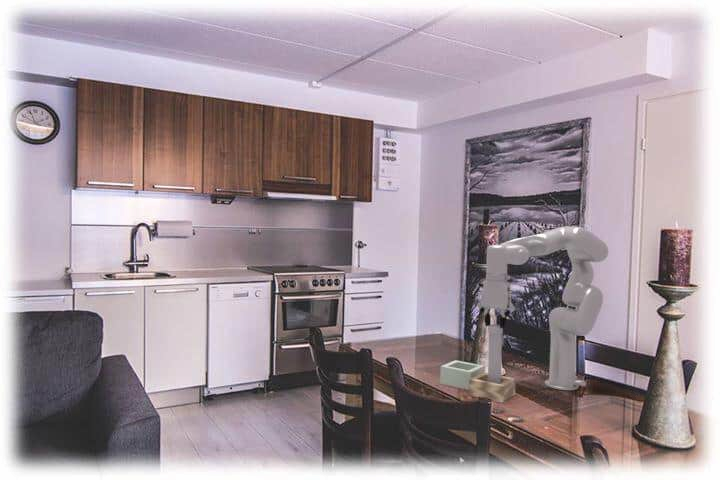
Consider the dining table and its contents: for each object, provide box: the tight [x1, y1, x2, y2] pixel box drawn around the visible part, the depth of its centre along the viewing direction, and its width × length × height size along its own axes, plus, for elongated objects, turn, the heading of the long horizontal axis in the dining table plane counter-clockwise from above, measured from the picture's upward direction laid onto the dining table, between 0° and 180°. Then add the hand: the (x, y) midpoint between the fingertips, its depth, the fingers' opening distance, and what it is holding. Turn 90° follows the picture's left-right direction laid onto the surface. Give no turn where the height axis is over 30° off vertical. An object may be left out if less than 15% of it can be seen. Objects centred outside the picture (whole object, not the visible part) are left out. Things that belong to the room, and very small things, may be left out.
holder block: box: [439, 359, 486, 391], centre depth 212 cm, size 13×13×7 cm
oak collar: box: [468, 371, 517, 404], centre depth 199 cm, size 13×13×6 cm
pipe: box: [487, 311, 504, 384], centre depth 199 cm, size 6×6×30 cm
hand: (495, 326), depth 198 cm, fingers closed on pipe, 5 cm apart
